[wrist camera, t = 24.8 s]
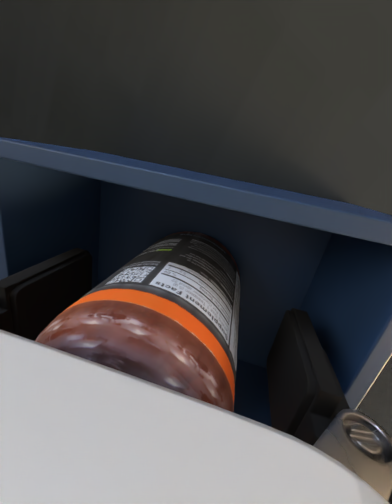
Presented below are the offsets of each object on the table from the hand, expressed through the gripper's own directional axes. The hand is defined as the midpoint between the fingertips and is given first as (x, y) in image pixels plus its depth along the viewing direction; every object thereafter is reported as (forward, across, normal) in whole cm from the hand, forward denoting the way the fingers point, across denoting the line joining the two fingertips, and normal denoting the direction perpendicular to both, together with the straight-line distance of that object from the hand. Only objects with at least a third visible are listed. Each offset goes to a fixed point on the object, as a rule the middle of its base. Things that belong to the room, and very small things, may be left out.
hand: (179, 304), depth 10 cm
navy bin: (+4, 0, 0) cm, 4 cm away
